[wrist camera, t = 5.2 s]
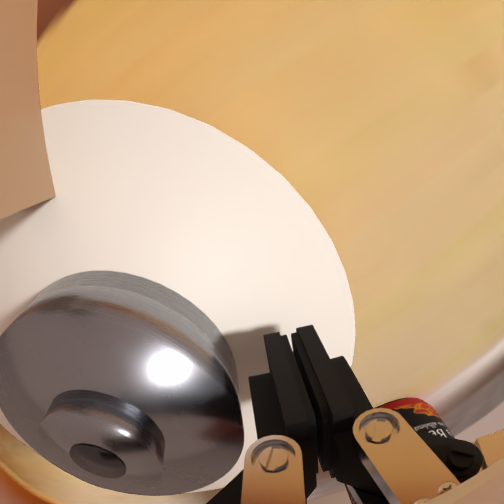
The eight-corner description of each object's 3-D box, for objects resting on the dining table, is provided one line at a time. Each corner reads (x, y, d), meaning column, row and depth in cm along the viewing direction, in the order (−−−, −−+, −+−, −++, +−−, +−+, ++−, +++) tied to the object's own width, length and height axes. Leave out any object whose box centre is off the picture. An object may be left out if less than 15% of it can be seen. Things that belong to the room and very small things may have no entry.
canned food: (444, 405, 19) (513, 502, 9) (374, 467, 21) (418, 565, 11) (393, 381, 17) (479, 517, 7) (311, 455, 19) (351, 585, 9)
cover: (207, 246, 10) (201, 317, 6) (255, 433, 13) (268, 512, 9) (-7, 291, 9) (-70, 348, 5) (82, 445, 12) (63, 510, 8)
